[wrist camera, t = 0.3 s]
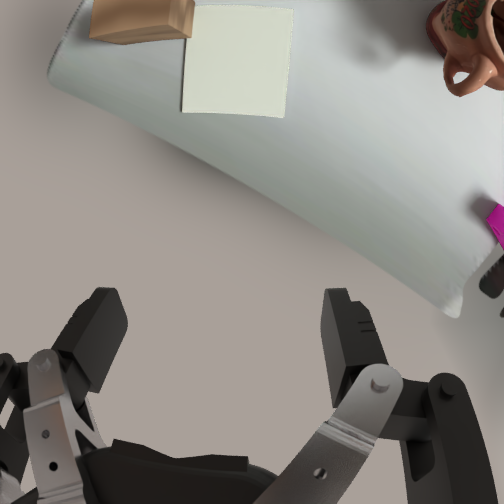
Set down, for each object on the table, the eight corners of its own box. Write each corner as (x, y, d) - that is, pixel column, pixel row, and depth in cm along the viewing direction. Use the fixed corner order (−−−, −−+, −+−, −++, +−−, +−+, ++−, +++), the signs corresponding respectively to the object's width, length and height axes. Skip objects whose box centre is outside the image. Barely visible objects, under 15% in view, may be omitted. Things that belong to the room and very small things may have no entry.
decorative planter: (452, 123, 31) (520, 146, 19) (385, 67, 29) (446, 59, 16) (497, 30, 22) (560, 28, 10) (438, -26, 20) (495, -52, 7)
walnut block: (127, 11, 26) (94, -3, 19) (195, 2, 25) (173, -19, 18) (123, 45, 28) (88, 37, 21) (191, 38, 28) (168, 24, 21)
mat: (191, 6, 26) (190, 6, 25) (293, 10, 26) (293, 9, 26) (183, 112, 33) (182, 112, 32) (283, 117, 33) (284, 118, 32)
